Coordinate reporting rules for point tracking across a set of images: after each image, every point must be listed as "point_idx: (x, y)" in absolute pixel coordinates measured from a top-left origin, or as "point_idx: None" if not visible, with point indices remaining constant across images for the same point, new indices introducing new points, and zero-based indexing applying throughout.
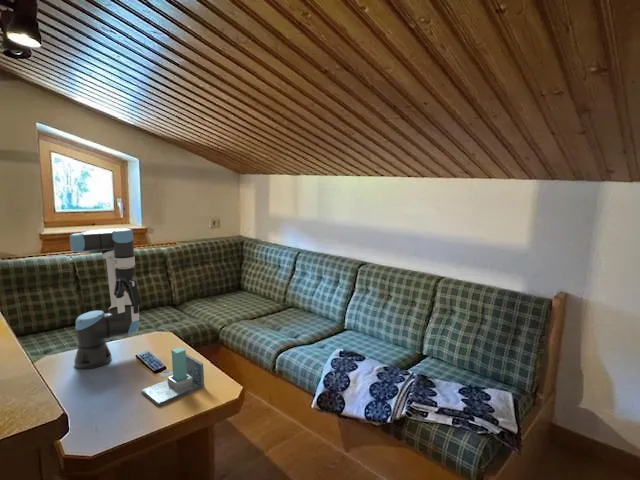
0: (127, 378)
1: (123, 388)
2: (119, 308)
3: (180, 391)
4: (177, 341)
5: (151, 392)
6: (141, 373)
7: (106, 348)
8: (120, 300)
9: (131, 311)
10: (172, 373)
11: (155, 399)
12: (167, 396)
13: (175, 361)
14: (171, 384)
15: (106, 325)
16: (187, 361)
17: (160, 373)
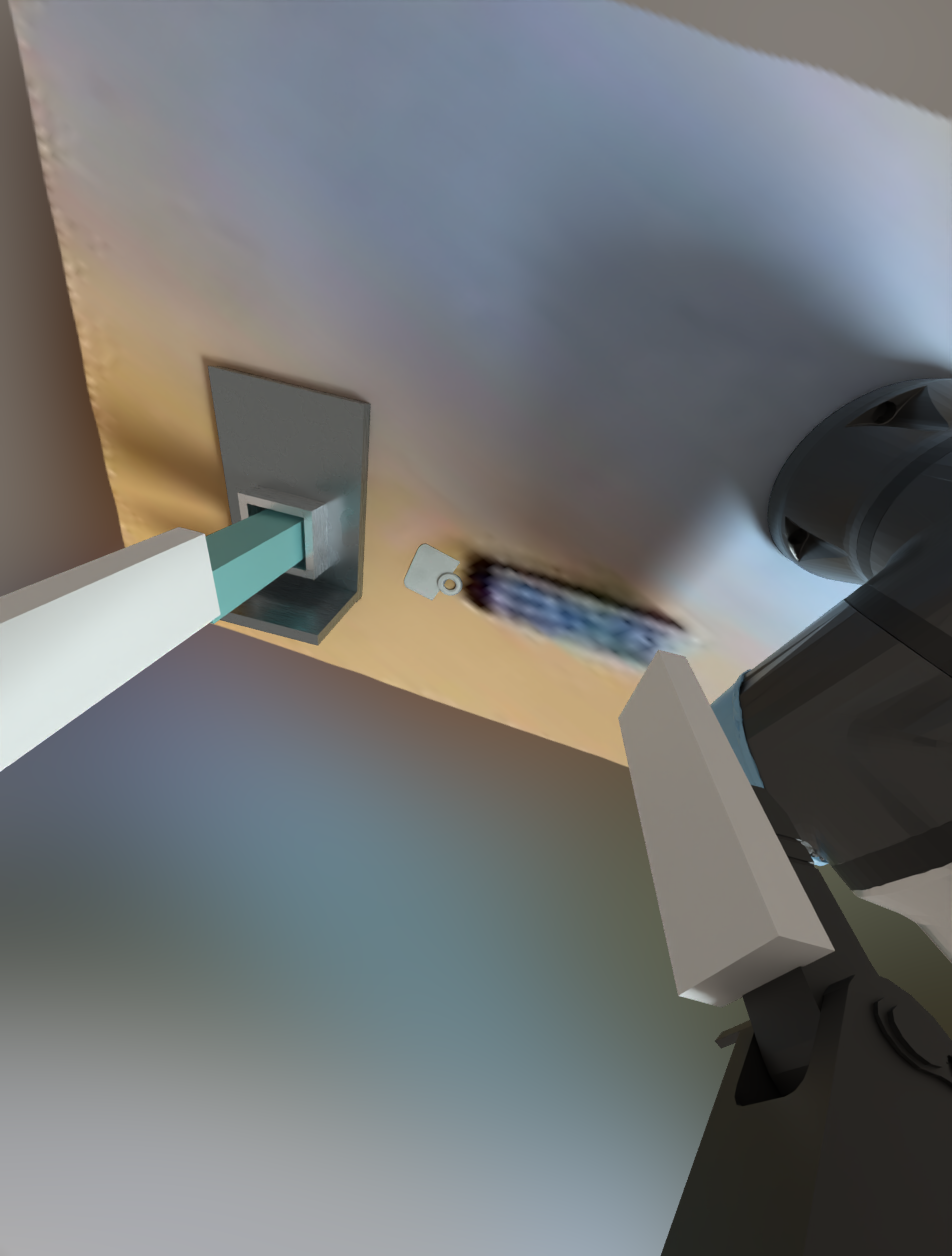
0: (542, 460)
1: (477, 382)
2: (669, 718)
3: (241, 487)
4: (607, 757)
5: (311, 413)
6: (523, 525)
7: (832, 555)
8: (705, 888)
9: (33, 603)
10: (415, 583)
11: (244, 380)
12: (236, 429)
13: (208, 546)
14: (291, 498)
15: (928, 626)
16: (293, 614)
17: (454, 563)
